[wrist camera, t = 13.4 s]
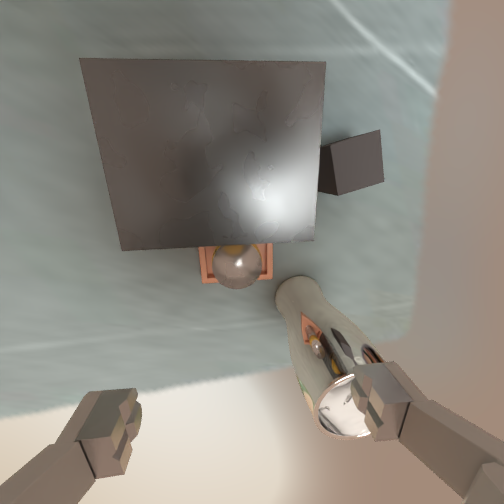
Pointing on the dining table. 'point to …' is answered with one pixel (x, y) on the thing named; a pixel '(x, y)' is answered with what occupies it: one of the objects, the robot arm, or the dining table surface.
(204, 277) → the tray
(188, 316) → the dining table surface
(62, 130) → the dining table surface
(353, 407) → the beer glass
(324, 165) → the rubber block
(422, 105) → the dining table surface
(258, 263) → the cylinder
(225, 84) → the dark grey block
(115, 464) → the robot arm
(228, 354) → the dining table surface
